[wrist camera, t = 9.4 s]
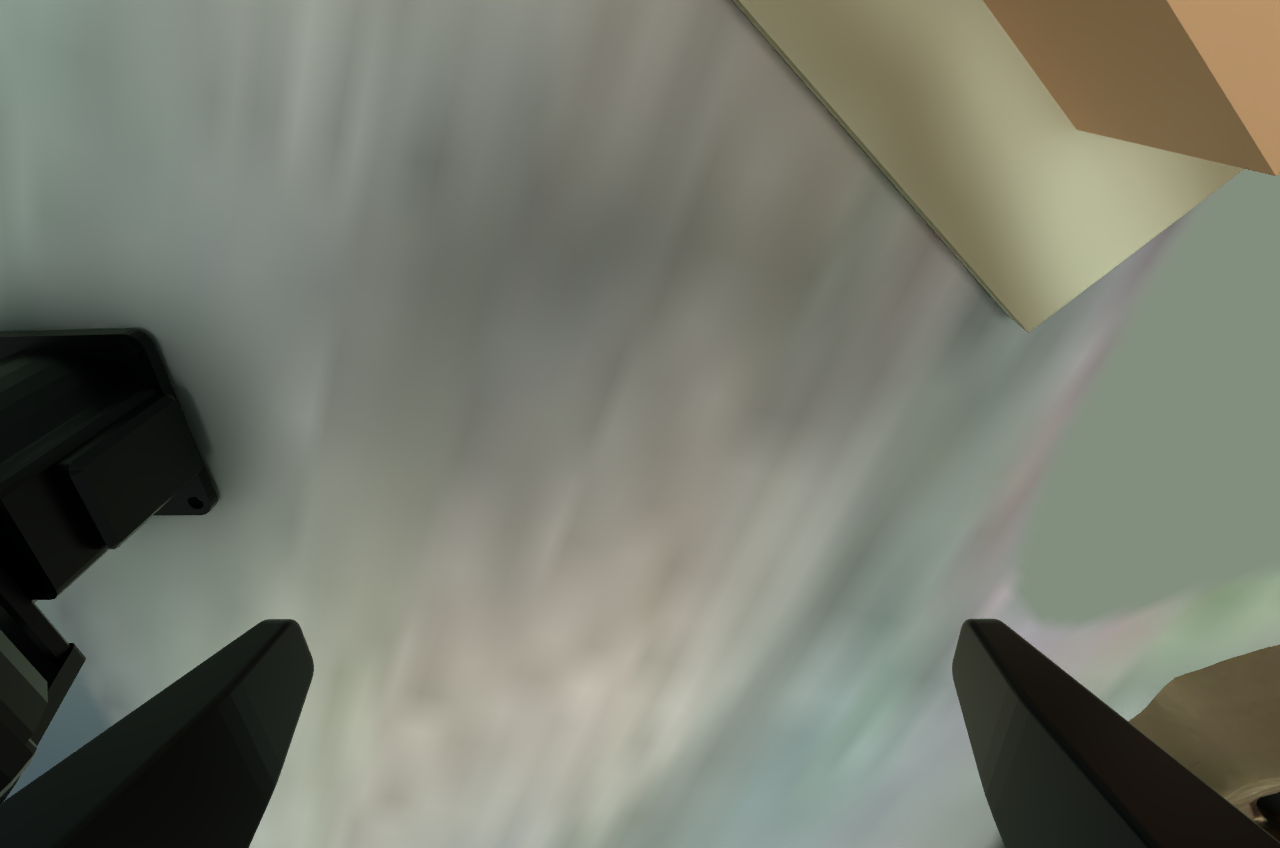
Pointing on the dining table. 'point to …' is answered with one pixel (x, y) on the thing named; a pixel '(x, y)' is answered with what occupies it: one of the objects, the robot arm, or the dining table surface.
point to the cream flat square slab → (984, 144)
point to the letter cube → (1160, 71)
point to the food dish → (1226, 730)
